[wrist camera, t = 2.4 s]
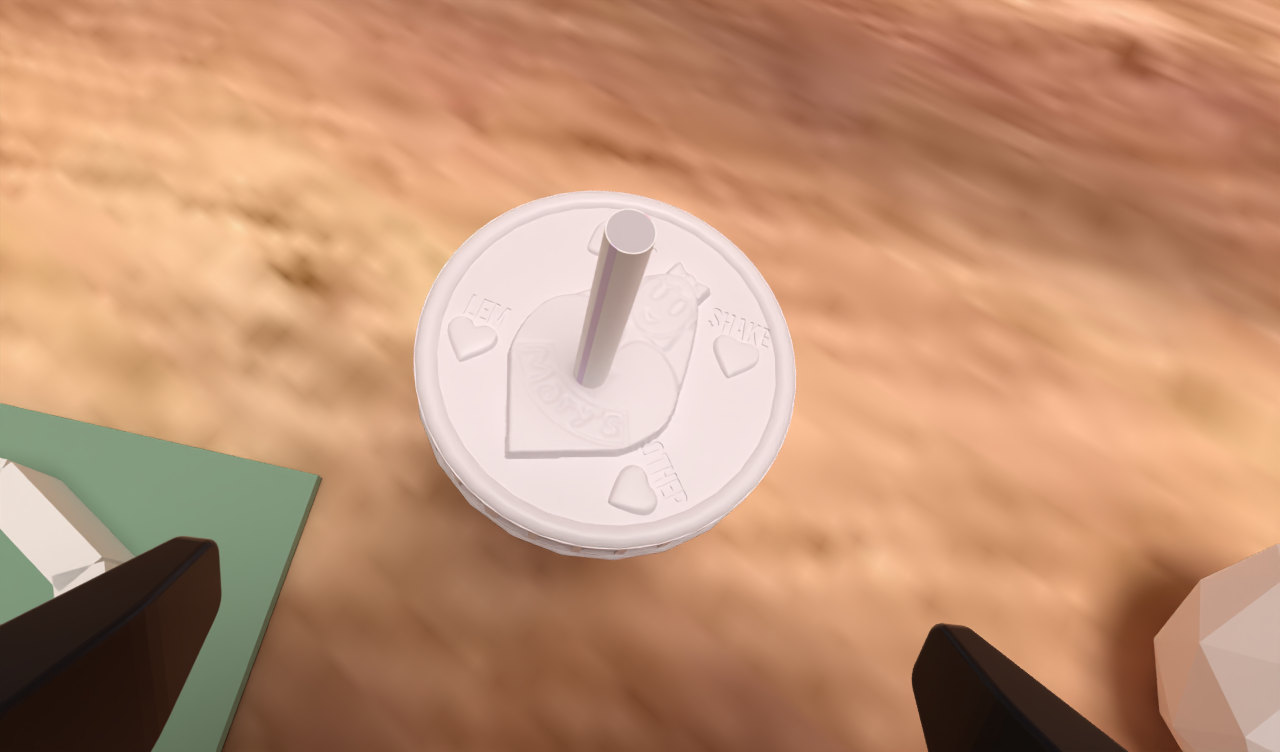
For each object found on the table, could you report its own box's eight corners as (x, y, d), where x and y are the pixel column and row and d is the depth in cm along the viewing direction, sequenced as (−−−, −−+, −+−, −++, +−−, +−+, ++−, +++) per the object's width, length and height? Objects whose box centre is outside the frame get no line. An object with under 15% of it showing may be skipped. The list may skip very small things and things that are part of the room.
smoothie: (404, 481, 20) (209, 177, 7) (567, 333, 22) (643, -101, 9) (572, 649, 19) (697, 648, 6) (723, 477, 22) (1041, 220, 9)
